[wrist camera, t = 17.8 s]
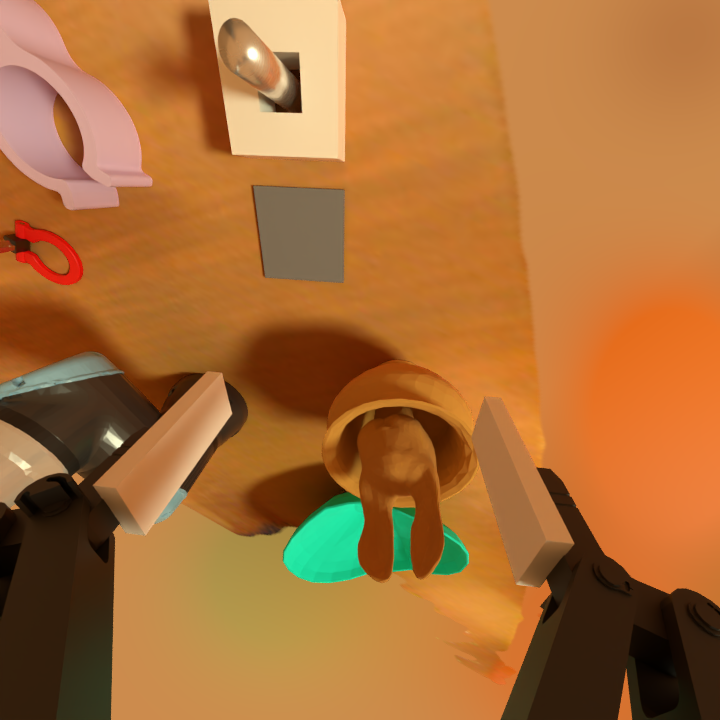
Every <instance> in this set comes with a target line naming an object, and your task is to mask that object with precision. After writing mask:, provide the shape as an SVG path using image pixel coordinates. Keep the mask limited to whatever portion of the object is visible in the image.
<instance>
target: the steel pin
mask: <svg viewBox="0 0 720 720" xmlns="http://www.w3.org/2000/svg"><path fill="white" fill-rule="evenodd" d="M218 48H219V53H220V56H221V58H222V60H223V62H224V64H225V65H226V67H227V68H228V69H229V70H230V71H231V72H233V73H234V74H235V75H237V76H238V77H240V78H241V79H243V80H244V81H245V82H247V83H248V84H250V85H251V86H253V87H254V88H255V89H257V90H258V91H260V92H261V93H263V94H264V95H265V96H267V97H268V98H270V99H271V100H273V101H274V102H275V103H277V104H278V105H280V106H281V107H283V108H284V109H285V110H287V111H288V112H290V113H301V112H302V99H301V83H300V82H299V81H298V79H297V78H296V77H295V76H294V75H293V74H292V73H291V72H290V71H289V70H288V68H287V67H286V66H285V65H284V64H283V63H282V62H281V61H280V60H279V59H278V58H277V56H276V55H275V54H274V53H273V52H272V51H271V50H270V49H269V48H268V47H267V45H266V44H265V43H264V42H263V41H262V40H261V39H260V38H259V37H258V36H257V35H256V33H255V32H254V31H253V30H252V29H251V28H250V27H249V26H248V25H247V24H246V23H245V22H244V21H242V20H240V19H238V18H231V19H228V20H226V21H225V22H224V23H223V24H222V26H221V28H220V31H219V35H218Z"/></svg>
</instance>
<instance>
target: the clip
mask: <svg viewBox="0 0 720 720" xmlns="http://www.w3.org/2000/svg"><path fill="white" fill-rule="evenodd" d="M58 93H59V94H60V95H61V97H62V98H63V99H64V101H65V102H66V103H67V105H68V106H69V108H70V110H71V111H72V113H73V115H74V117H75V119H76V121H77V123H78V126H79V129H80V132H81V135H82V139H83V145H84V159H83V163H82V167H83V169H82V168H81V167H80V166H79V165H78V164H77V163H76V162H75V161H74V160H73V159H72V157H71V156H70V155H69V154H68V152H67V151H66V149H65V148H64V146H63V144H62V142H61V140H60V138H59V136H58V133H57V130H56V127H55V123H54V117H53V106H54V101H55V98H56V96H57V94H58ZM0 149H1V150H2V151H3V153H4V154H5V155H6V156H7V158H8V159H9V160H10V161H11V162H12V163H13V164H14V165H15V166H16V167H17V168H18V169H19V170H20V171H21V172H23V173H24V174H25V175H26V176H28V177H29V178H30V179H32V180H33V181H35V182H36V183H38V184H40V185H42V186H44V187H46V188H48V189H51V190H54V191H57V192H58V193H59V194H60V195H61V197H62V200H63V204H64V206H65V207H66V208H67V209H70V210H81V209H94V208H108V207H118V206H119V199H118V193H117V190H116V187H151V186H152V178H151V177H150V176H149V175H147V174H145V173H144V172H143V171H142V169H141V161H142V155H141V146H140V141H139V137H138V134H137V131H136V129H135V126H134V124H133V122H132V120H131V118H130V116H129V114H128V112H127V111H126V109H125V108H124V106H123V105H122V103H121V102H120V101H119V99H118V98H117V97H116V96H115V95H114V93H113V92H112V91H111V90H110V89H109V88H108V87H106V86H105V85H104V84H103V83H102V82H100V81H99V80H97V79H96V78H94V77H93V76H91V75H89V74H87V73H85V72H84V71H83V70H81V69H80V68H79V67H78V66H77V65H76V64H75V62H74V61H73V60H72V58H71V57H70V55H69V53H68V52H67V50H66V47H65V45H64V42H63V40H62V38H61V35H60V33H59V31H58V30H57V28H56V26H55V24H54V23H53V21H52V20H51V19H50V17H49V16H48V15H47V13H46V12H45V11H44V10H43V9H42V8H41V7H40V6H39V5H38V4H37V3H36V2H35V1H33V0H0Z"/></svg>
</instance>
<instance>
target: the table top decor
mask: <svg viewBox="0 0 720 720" xmlns="http://www.w3.org/2000/svg"><path fill="white" fill-rule="evenodd" d="M415 509H416V508H414V507H403V508H400V507H393V508H392V519H393V528H394V562H393V570H392V572H396V571H405V570H413V567H412V561H411V554H410V548H411V526H412V523H413V521H414V517H415ZM364 521H365V519H364V514H363V508H362V504H361V499H360V498H358V497H357V496H355V495H353V494H351V493H349V492H346V493H342V494H339V495H336V496H334V497H333V498H331V499H330V500H329V501H327V502H326V503H325V504H323V505H322V506H321V507H320V508H318V509H317V510H316V511H314V512H313V513H312V514H310V515H309V516H308V517H307V519H306V520H305V521H304V522H303V523H302V524H301V525H300V526H299V527H298V528H297V529H296V531H295V532H294V534H293V535H292V537H291V538H290V540H289V542H288V544H287V545H286V547H285V549H284V551H283V562H284V564H285V565H286V567H287V568H288V570H289V571H290V572H292V573H293V574H294V575H296V576H297V577H299V578H301V579H304V580H307V581H310V582H317V583H332V582H339V581H344V580H350V579H354V578H356V577H359V576H363V575H366V574H367V573H365V571H364V570H363V568H362V567H361V566H360V564H359V560H358V542H359V539H360V536H361V533H362V530H363V527H364ZM442 525H443V530H444V548H443V553H442V556H441V559H440V561H439V563H438V565H437V566H436V568H435V569H434V571H433V572H432V574H438V575H450V574H454V573H459V572H461V571H462V570H463V569H464V568H465V567H466V566H467V565H468V563H469V553H468V551H467V550H466V548H465V546H464V544H463V543H462V541H461V540H460V539H459V537H458V536H457V535H456V534H455V533H454V532H453V531H452V530H450V529H449V528H448V527H447V526H445V525H444V524H443V523H442Z"/></svg>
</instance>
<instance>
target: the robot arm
mask: <svg viewBox="0 0 720 720" xmlns="http://www.w3.org/2000/svg"><path fill="white" fill-rule="evenodd" d="M247 416H248V410H247V406H246V403H245V401H244V399H243V397H242V396H241V395H240V394H239V392H238V391H237V390H236V389H235V388H233V387H232V386H231V385H230V384H228V383H227V382H225V381H224V379H223V375H222V373H220V372H209V371H207V372H206V373H205V374H192V375H188V376H186V377H184V378H182V379H181V380H180V381H179V382H178V383H176V384H175V385H174V386H173V387H172V389H171V390H170V392H169V394H168V397H167V399H166V401H165V403H164V405H163V407H162V409H161V411H160V412H159V411H158V410H157V409H156V408H155V406H154V405H153V404H152V403H151V402H150V401H149V400H148V399H147V398H146V397H145V396H144V395H143V394H142V393H141V392H140V390H139V389H138V388H137V387H136V386H135V385H134V384H133V383H132V382H131V381H130V380H129V379H128V378H127V377H126V375H125V374H124V371H122V370H119V369H118V368H117V367H116V366H115V365H114V364H113V363H112V362H111V361H110V360H109V359H108V358H107V357H106V356H104V355H103V354H101V353H98V352H93V351H91V352H83V353H80V354H77V355H74V356H72V357H69V358H66V359H63V360H61V361H58V362H55V363H53V364H50V365H47V366H45V367H42V368H40V369H37V370H35V371H32V372H30V373H27V374H25V375H22V376H20V377H17V378H15V379H12V380H10V381H7V382H4V383H2V384H0V720H111V685H112V642H113V599H114V557H115V537H114V534H113V531H114V530H115V529H116V527H117V526H118V525H119V524H120V525H121V527H122V528H123V530H124V531H125V532H126V533H131V534H138V535H146V534H147V532H148V531H149V530H150V528H151V527H152V526H153V524H156V523H159V522H162V521H163V520H165V519H167V518H168V517H169V516H170V515H171V514H172V513H173V512H174V511H175V509H176V508H177V507H178V505H179V504H180V503H181V502H182V500H183V499H185V498H186V496H187V493H188V492H189V490H190V489H191V487H192V485H193V484H194V482H195V481H196V479H197V478H198V476H199V475H200V473H201V472H202V470H203V469H204V467H205V466H206V464H207V463H208V461H209V460H210V458H211V457H212V455H213V454H214V452H215V451H216V449H217V448H218V447H219V446H221V445H222V444H223V443H224V442H226V441H227V440H228V439H229V438H231V437H233V436H234V435H235V434H237V433H238V432H239V431H240V429H241V428H242V426H243V425H244V423H245V422H246V420H247ZM471 439H472V442H473V445H474V449H475V452H476V455H477V458H478V462H479V465H480V468H481V471H482V475H483V478H484V481H485V485H486V488H487V491H488V494H489V498H490V501H491V504H492V507H493V511H494V514H495V517H496V520H497V524H498V527H499V530H500V533H501V537H502V540H503V543H504V547H505V550H506V553H507V556H508V560H509V563H510V566H511V569H512V573H513V576H514V579H515V582H516V584H517V585H525V586H532V587H541V585H542V584H543V583H544V581H545V580H546V579H547V581H548V584H549V587H550V589H551V592H552V593H551V594H550V595H549V596H548V598H547V599H546V600H545V601H544V602H543V604H542V605H541V606H540V607H541V608H543V609H544V610H543V612H542V615H541V617H540V620H539V623H538V625H537V628H536V630H535V633H534V635H533V638H532V641H531V643H530V646H529V648H528V651H527V654H526V656H525V659H524V661H523V664H522V666H521V669H520V671H519V674H518V677H517V679H516V682H515V684H514V687H513V690H512V692H511V695H510V697H509V700H508V702H507V705H506V708H505V710H504V713H503V715H502V718H501V720H618V714H619V708H620V702H621V696H622V690H623V683H624V678H625V672H626V669H627V677H628V685H629V694H630V703H631V711H632V720H720V608H719V607H718V606H717V605H715V604H714V603H713V602H712V601H711V600H709V599H707V598H706V597H704V596H702V595H701V594H699V593H697V592H694V591H692V590H689V589H676V590H675V591H673V592H672V593H671V594H667V593H665V592H663V591H661V590H658V589H656V588H653V587H651V586H648V585H646V584H644V583H642V582H639V581H637V580H635V579H633V578H631V577H630V575H629V574H628V573H627V572H626V571H625V570H624V568H623V567H622V566H620V565H619V564H618V563H617V562H615V561H614V560H613V559H611V558H609V557H607V556H606V555H605V554H604V553H603V551H602V550H601V548H600V547H599V545H598V543H597V541H596V540H595V538H594V536H593V534H592V532H591V531H590V529H589V527H588V526H587V524H586V522H585V520H584V519H583V517H582V515H581V513H580V512H579V510H578V508H576V505H575V503H574V501H573V499H572V497H570V496H569V492H568V491H567V489H566V487H565V485H564V483H563V482H562V480H561V479H560V478H558V476H557V475H556V474H555V473H554V472H553V471H552V470H551V469H546V468H536V466H535V464H534V462H533V460H532V458H531V456H530V454H529V452H528V450H527V448H526V447H525V445H524V443H523V441H522V439H521V437H520V435H519V433H518V431H517V429H516V427H515V425H514V423H513V421H512V419H511V417H510V415H509V413H508V411H507V409H506V407H505V405H504V403H503V401H502V399H501V398H495V397H484V400H483V403H482V406H481V409H480V412H479V415H478V418H477V421H476V425H475V428H474V431H473V434H472V437H471ZM74 473H78V474H79V475H80V476H82V477H83V478H84V480H83V481H82V482H81V483H80V484H79V485H77V483H76V482H75V481H74V479H73V478H72V477H71V476H72V475H73V474H74ZM15 504H16V505H17V506H18V507H19V508H20V509H15V510H11V509H10V508H11V507H12V506H13V505H15Z"/></svg>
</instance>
